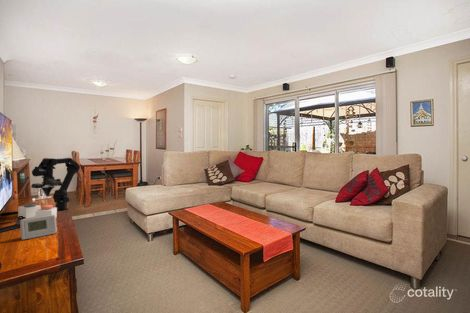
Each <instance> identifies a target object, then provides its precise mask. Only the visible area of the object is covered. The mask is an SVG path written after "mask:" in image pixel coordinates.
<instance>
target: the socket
mask: <svg viewBox="0 0 470 313" xmlns="http://www.w3.org/2000/svg"><path fill="white" fill-rule="evenodd" d="M41 206H42V205H37V204H36V206H34V207H24V205H21V206H18V209H17V210H18V212H17V214H18V215H17V216H18V217H19V216H23V217H25V218H24V219H27V218H32V217H35V214H36V210H38V209H40V208H41ZM19 218H20V217H19Z"/></svg>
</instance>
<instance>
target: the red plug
mask: <svg viewBox="0 0 470 313" xmlns="http://www.w3.org/2000/svg"><path fill="white" fill-rule="evenodd" d="M40 206H41V210H50V209H52V208H53V205H52V204H43V205H40Z"/></svg>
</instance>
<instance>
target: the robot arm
mask: <svg viewBox="0 0 470 313" xmlns="http://www.w3.org/2000/svg"><path fill="white" fill-rule="evenodd" d="M60 164H65V167H66V173H65V174H66V175H65V177H64V179H63V181H62V180H61V178H55V176H54V170H56V168H57V167H55V166H56V165H60ZM79 164H80V163H78V162H77V161H75V160H74V159H73V158H71V157H63V158H49V157H45V158H42V159H41V162H40V163H39V165H38V166H34V168H32V171H31V174H32V177H41V179H42V182H41V183H39V182H38V183H32V184H31V185H30V186H31V189H42V191H43V193H44V195H45V196H46V197H50V194H51V191H52V190H53V189H54V188H55V187H57V186H60V188H58V189H55V190H54V193H53V194H52V198H53V201H54V203H56V204H55V207H57V212H58V211H59V212H60V211H61V212H62V211H66V210H69V208H67V207H68V203H69V202H70V198H69V197H68V188H69V187H70V185H71V182H72V180H73V178H74V175H75V174H76V173H78V171H79V170H80V168H81V166H80V165H79Z"/></svg>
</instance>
